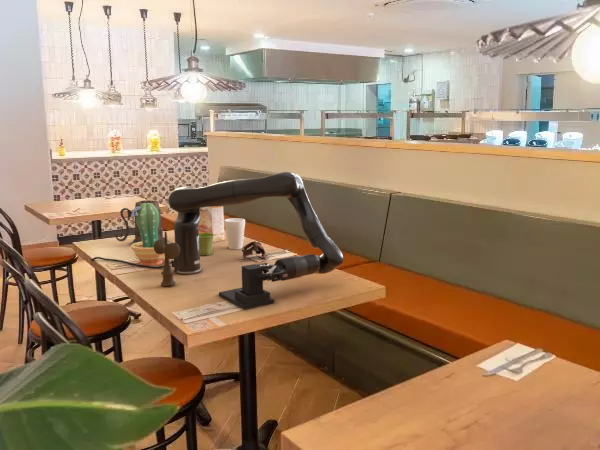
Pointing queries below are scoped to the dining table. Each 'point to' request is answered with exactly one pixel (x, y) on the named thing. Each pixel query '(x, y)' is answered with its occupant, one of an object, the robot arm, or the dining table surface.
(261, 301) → the base pad
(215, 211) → the coffeecake box
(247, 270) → the post
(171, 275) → the kendama
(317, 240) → the robot arm
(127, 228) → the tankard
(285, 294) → the dining table surface
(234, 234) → the foam cup
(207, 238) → the plant pot
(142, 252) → the potted cactus
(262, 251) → the brown curved piece
